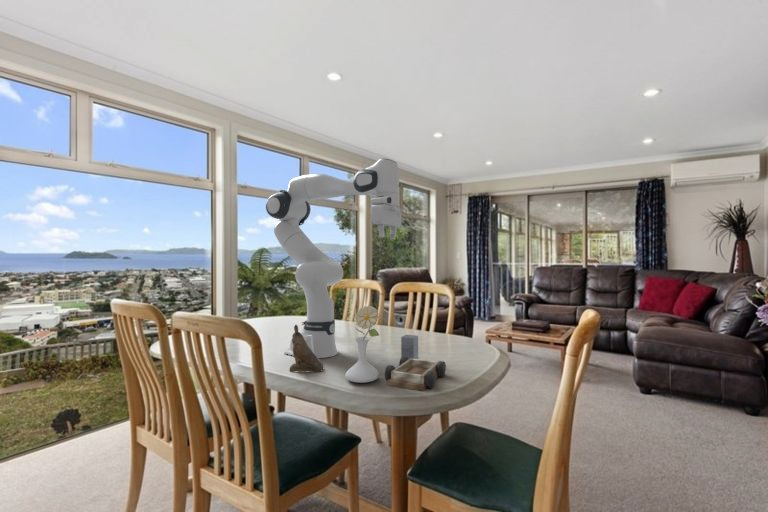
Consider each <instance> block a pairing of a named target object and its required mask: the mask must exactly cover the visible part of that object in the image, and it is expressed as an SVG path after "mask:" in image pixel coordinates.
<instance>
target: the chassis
mask: <svg viewBox="0 0 768 512" xmlns="http://www.w3.org/2000/svg"><path fill="white" fill-rule="evenodd" d="M398 364H399V365H398V366H397V367H395V366H394V365H391V364H388V365H387V366H386V367H385V371H384V379H385V381H386V382H387V386H390V387H391V386H392V387H396V388H403V389H409V390H413V391H414V390H415V391H420V392H421V391H422V392H425V390H427V388H430V389H433V388H434V386H435V383H436V379H437V378H438V377H443V378H444V377H445V375H446V372H447V371H446V370H447V367H446V366H447V365H446V362H445V361H443V360H438V361H435V360H427V359H426V360H425V359H419V358H418V359H412V358H410V359H409V360H408V357H404V356H402V357H400V358H399V363H398Z"/></svg>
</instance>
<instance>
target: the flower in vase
mask: <svg viewBox="0 0 768 512" xmlns="http://www.w3.org/2000/svg"><path fill="white" fill-rule="evenodd" d="M379 318H380V316H379V309H377V308H376V307H374V306H371V305H367V306H363V307H362V308H361V307H360V308H359V310H358V311H357V312H356V314H355V316H354V319H355V324H356V326H357V327H359V328H362V329H363V330H367V329H368V330H367V332H366V334H365V333H364V331H361V330H360V329H358V328H357V327H356V326H355V330H356V331H358V332H360V333H361V334H363V335H364V336H357V337H355V338H354V340H355V341H356V344H357V347H358V360H357V361H356V363H355V364H353V365H352V366H351V367H349V369H347V371H346V372H345V374H344V377H345V378H346V380H348V381H350V382H353V383H358V384H359V383H363V384H364V383H365V384H366V383H370V382H374V381H375V380H377V379H379V378H380V375H381V373H380V372H379V370H377V368H375V367H374V366H373V365H372V364H370V363H369V362H368V360H367V356H366V355H367V347H368V346H367V345H368V343H369V341H370V340H371V337H377V336H380V334H379V332H378V331H377V330H376V328H372V327H374V326H375V325H376V323H377V322H378V320H379ZM371 328H372V329H371ZM368 334H369V336H370V337H368V336H367V335H368Z"/></svg>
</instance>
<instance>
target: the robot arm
mask: <svg viewBox="0 0 768 512" xmlns="http://www.w3.org/2000/svg"><path fill="white" fill-rule="evenodd" d="M399 184H400V169H399V164H398V163H397V162H396V161H394V160H392V159H390V158H379V159H378V160H377V161H376V162H375V163H373V164H372V165H370V166H368V167H365V168H363V169H359V170H357V172H355V173H354V175H353V180H352V179H351V180H347V179H341V178H338V177H335V176H332V175H330V174H329V175H328V174H324V173H307V174H303V175H300V176H295V177H294V178H292V179H290V181H289V183H288V188H287V190H285V189H280V190H279V191H278V192H275V193H274V194H272V195H270V196H269V197H268V199H267V200H266V204H265V210H266V212H267V214H268V215H269V216H270V217H272V218H274V219H276V220H279V221H278V222H277V223H276V225H274V229H273V233H274V236H275V238H276V239H277V241H278V243H279V244H280V245H281V247H282V249H283V250H284V251H285V252H286V253H287V256H289V257H290V259H291V260H292V262H294V263H295V264H297V265H298V266H297V267H296V269H295V271H294V272H295V273H294V277H295V281H296V283H297V284H298V285H299V286H300V287H301V288H302V291H303V293H304V296H305V301H306V320H305V321H302V322H301V326H303V329H302V330H300V331H298V332H299V333H301V334H302V336H303V338H304V340H305V342H306V343H307V345H308V347H309V348H310V349H311V351H312V352H313V353H314V355H315V356H316V357H317V358H318V359H325V358H331V357H333V356H336V355H337V354H338V353H339V352H338V348H337V343H336V337H335V332H336V331H335V329H336V319H335V306H334V305H335V303H334V299H332V298H331V296H330V293H329V291H328V287H331V286H334V285H337V284H338V283H340V282H341V281H342V279H343V277H344V268H343V267H342V265H341V264H340V263H339V262H336V261H335V260H333V259H331V258H330V257H329V256H328V255H327V254H325V252H323V251H322V250H320V249H319V248H318V247H317V246H316V245H315V244H314V243H313V242H312V240H310V238H309V237H308V236H307V235H306V234H305V233H304V231H303V230H302V229H301V227H300V226H302V225H304V223H305V221H306V220H307V219H308V218H309V216H310V214H311V205H310V202H309V201H320V200H326V199H333V198H339V197H347V196H368V197H371V198H370V205H371V214H370V216H371V218H370V219H371V223H372V224H373V225H377V230H378V233H379V234H378V237H379V238H385V237H386V232H385V229H384V228H385V227H388V228H390V233H389V239H396V234H397V230H398V228H401V227H402V223H403V222H402V211H401V209H400V208H399V207H400V190H399ZM283 353H284V355H287V354H288V355H289V356H291V355H292V356H293V357H294V355H293V343H292V339H291V341H290V345H289V348H287V349H285V350H284V352H283ZM288 355H287V356H288ZM292 356H291V357H292Z"/></svg>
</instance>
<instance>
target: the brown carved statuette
mask: <svg viewBox="0 0 768 512" xmlns="http://www.w3.org/2000/svg"><path fill="white" fill-rule="evenodd" d="M293 330H294V332H293V333H292V338H291V340H292V343H293V355H294V356H293V357H294V360H295V362H294V363H293V364H292V365H290V367H289V371H321V370H323V371H324V369H323V368H324V364H323V363H322V361H320V360H319V358H317V357H316V356H315V355H314V353H313V352H312V351H311V349H310V348H309V347H308V345H307V343H306V342H305V340H304V338H303V336H302V334H301V333H299V332H300V331H299V326H298V325H297V324H295V325H294V327H293ZM321 372H322V371H321Z"/></svg>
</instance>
